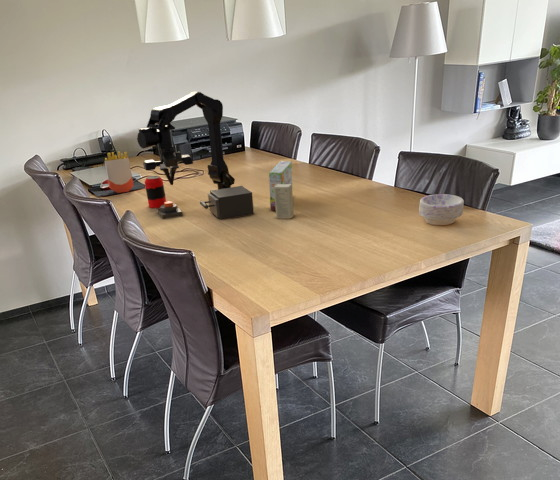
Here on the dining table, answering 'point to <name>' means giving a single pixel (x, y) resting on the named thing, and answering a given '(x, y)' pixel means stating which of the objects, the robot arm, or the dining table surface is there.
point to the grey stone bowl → (441, 208)
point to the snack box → (279, 178)
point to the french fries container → (119, 172)
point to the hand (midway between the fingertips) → (171, 184)
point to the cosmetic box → (284, 201)
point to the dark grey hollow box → (234, 202)
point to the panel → (169, 211)
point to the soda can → (155, 191)
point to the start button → (168, 204)
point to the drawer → (212, 205)
